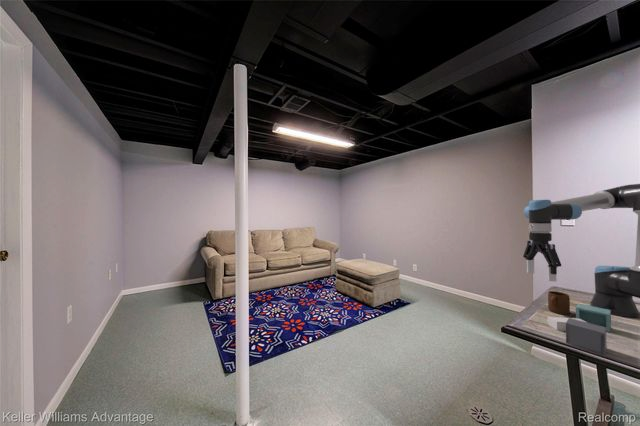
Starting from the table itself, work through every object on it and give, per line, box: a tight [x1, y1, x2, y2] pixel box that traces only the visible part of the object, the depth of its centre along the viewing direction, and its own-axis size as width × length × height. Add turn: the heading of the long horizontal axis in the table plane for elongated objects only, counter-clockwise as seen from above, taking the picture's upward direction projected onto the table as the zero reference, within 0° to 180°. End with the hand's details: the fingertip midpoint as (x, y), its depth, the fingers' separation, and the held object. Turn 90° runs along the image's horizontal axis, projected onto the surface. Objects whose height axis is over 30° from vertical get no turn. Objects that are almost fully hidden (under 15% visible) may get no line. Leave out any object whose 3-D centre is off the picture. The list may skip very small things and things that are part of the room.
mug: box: [547, 290, 571, 316], centre depth 113 cm, size 12×8×9 cm, turn 118°
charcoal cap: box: [565, 317, 608, 356], centre depth 85 cm, size 7×9×8 cm
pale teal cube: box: [575, 303, 612, 333], centre depth 100 cm, size 7×9×8 cm
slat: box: [547, 316, 585, 332], centre depth 98 cm, size 12×5×4 cm, turn 77°
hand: (540, 276), depth 105 cm, fingers open, 13 cm apart
